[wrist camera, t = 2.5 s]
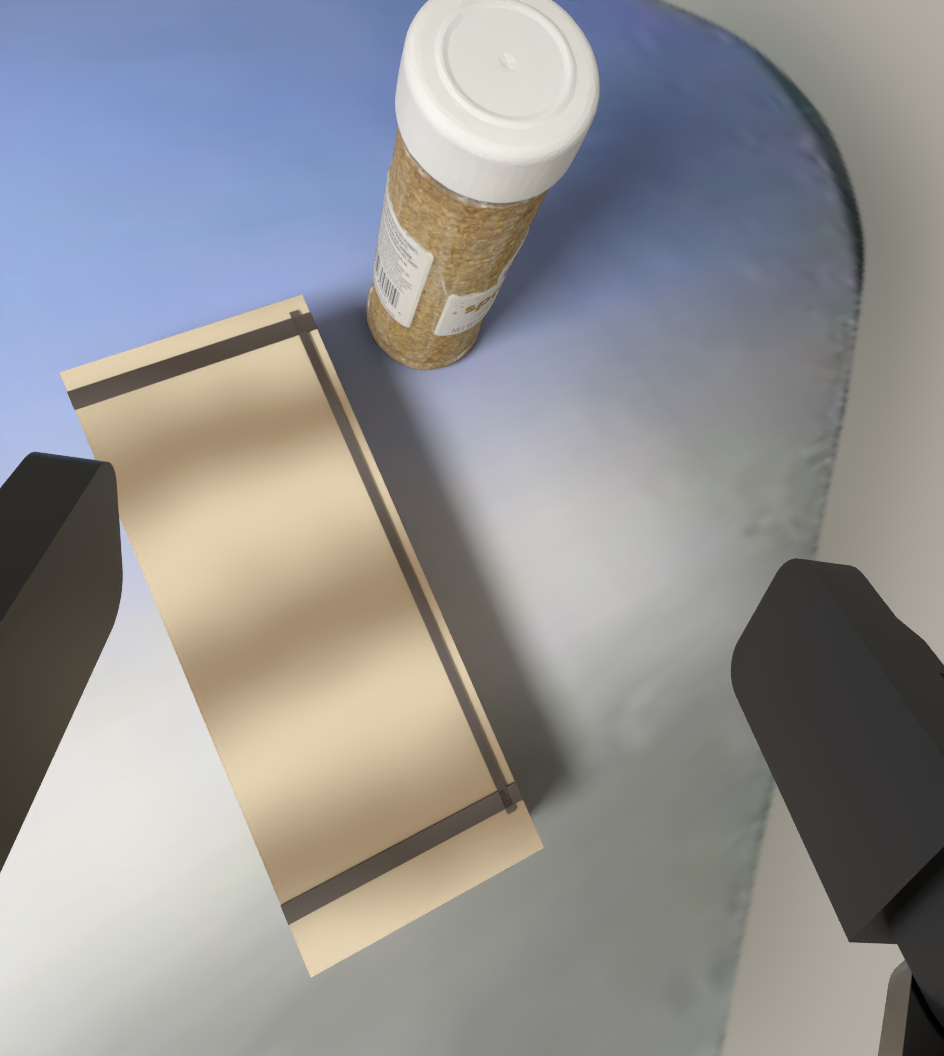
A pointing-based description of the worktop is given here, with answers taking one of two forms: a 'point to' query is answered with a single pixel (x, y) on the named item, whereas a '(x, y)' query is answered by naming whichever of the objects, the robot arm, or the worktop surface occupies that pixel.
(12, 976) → the worktop surface
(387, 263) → the sprinkles bottle
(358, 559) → the maple plank
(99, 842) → the worktop surface
